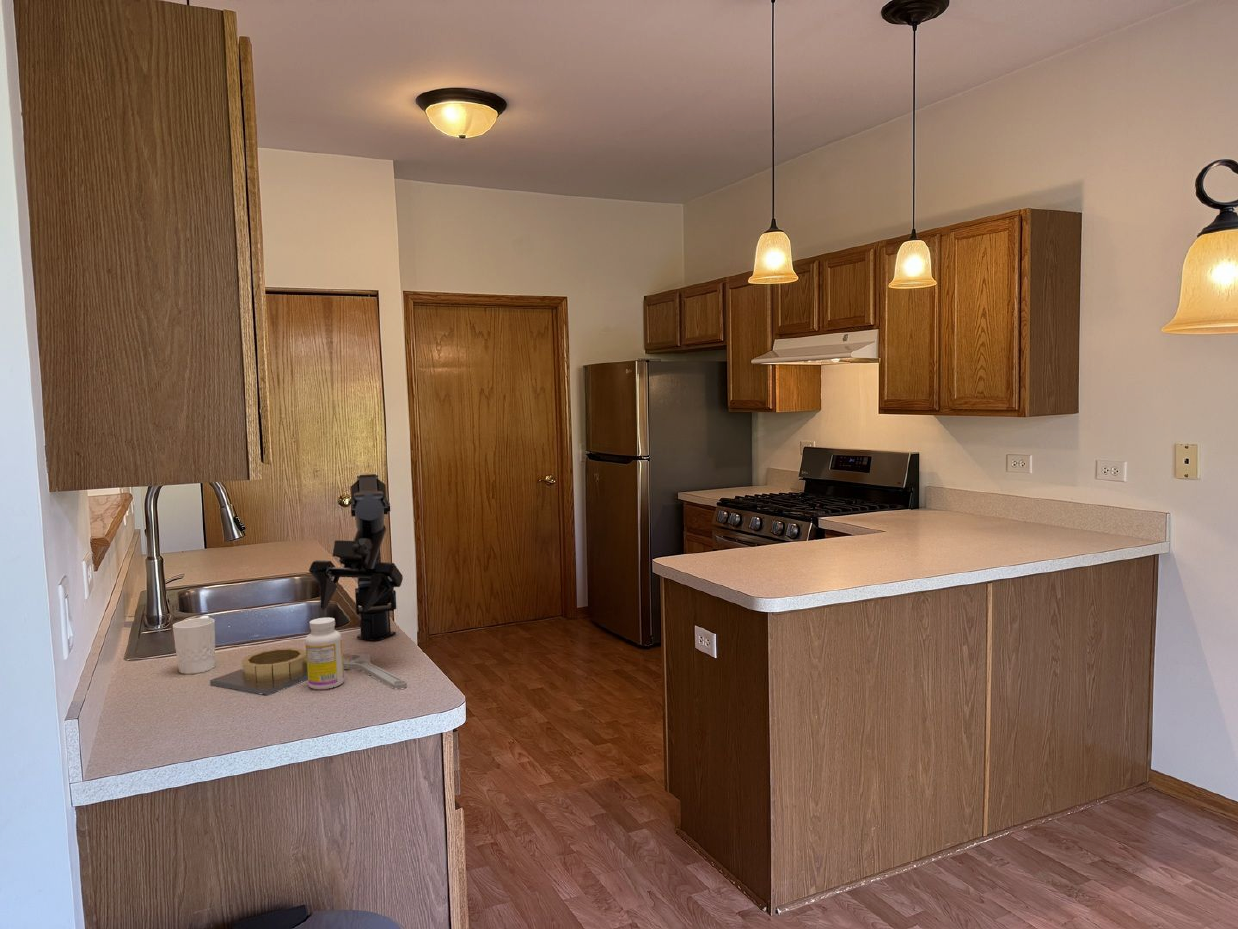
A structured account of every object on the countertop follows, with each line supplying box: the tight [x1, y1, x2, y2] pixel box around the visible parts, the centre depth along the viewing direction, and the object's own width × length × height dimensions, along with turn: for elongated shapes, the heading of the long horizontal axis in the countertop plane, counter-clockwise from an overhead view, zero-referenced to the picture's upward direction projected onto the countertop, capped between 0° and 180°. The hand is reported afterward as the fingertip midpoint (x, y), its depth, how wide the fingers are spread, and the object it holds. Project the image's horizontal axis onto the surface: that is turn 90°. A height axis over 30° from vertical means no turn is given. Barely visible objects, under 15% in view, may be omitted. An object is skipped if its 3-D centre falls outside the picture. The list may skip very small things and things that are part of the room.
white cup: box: [172, 617, 216, 675], centre depth 180 cm, size 8×8×10 cm
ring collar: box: [209, 647, 308, 696], centre depth 173 cm, size 18×16×4 cm
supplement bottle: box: [304, 617, 345, 690], centre depth 167 cm, size 7×7×13 cm
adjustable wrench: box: [343, 653, 408, 690], centre depth 172 cm, size 25×6×2 cm, turn 36°
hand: (343, 609), depth 173 cm, fingers open, 9 cm apart
